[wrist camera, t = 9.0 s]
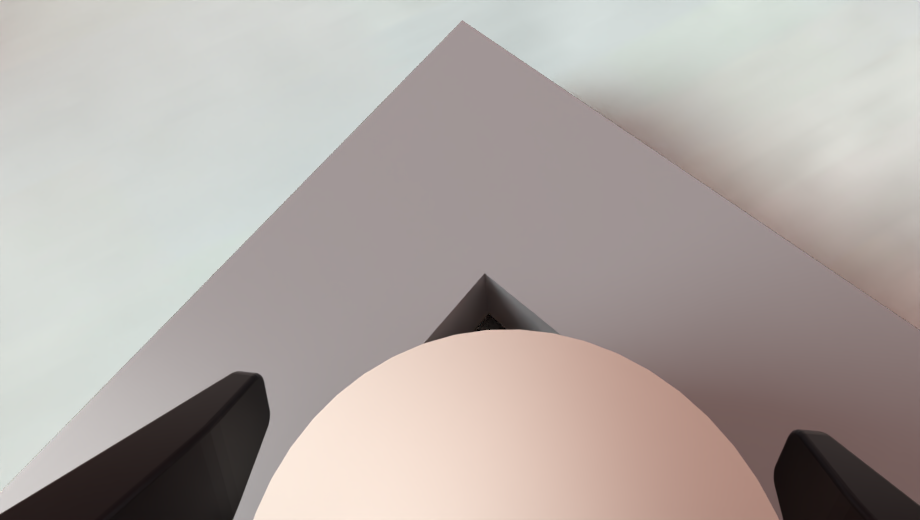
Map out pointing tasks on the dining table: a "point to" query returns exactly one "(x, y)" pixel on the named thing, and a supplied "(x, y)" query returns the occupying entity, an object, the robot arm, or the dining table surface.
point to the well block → (520, 281)
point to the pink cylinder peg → (512, 441)
